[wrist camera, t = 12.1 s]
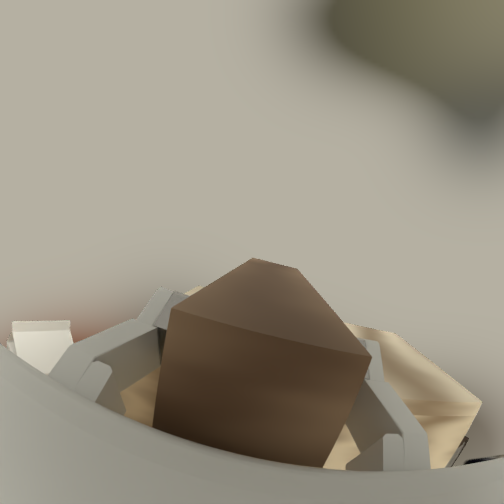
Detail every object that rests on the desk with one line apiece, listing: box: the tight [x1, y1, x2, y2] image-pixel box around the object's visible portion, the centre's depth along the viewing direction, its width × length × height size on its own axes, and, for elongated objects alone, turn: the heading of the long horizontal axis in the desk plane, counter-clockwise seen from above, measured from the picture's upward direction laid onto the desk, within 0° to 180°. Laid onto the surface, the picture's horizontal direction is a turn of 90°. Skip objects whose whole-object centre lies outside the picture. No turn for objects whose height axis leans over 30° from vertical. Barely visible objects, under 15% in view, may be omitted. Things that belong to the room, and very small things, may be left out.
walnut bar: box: [152, 258, 372, 468], centre depth 16 cm, size 4×21×3 cm, turn 175°
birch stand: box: [120, 286, 482, 470], centre depth 22 cm, size 22×17×26 cm
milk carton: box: [7, 320, 74, 376], centre depth 25 cm, size 7×7×19 cm
